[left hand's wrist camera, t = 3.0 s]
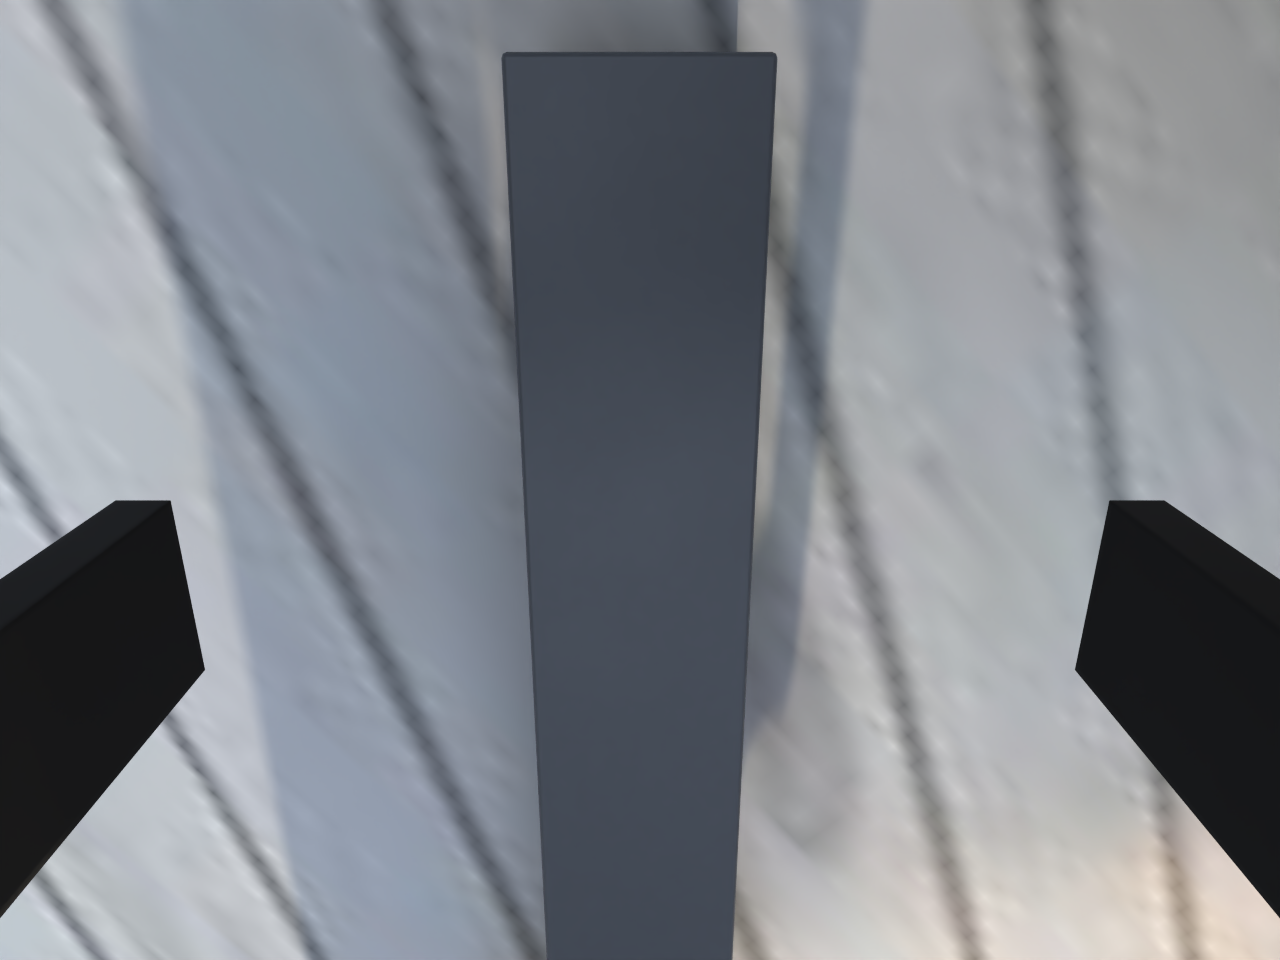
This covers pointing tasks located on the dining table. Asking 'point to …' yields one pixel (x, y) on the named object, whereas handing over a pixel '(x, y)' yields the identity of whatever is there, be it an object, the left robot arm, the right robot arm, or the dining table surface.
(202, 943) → the dining table surface
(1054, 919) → the dining table surface
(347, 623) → the dining table surface
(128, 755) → the left robot arm
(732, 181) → the beam
